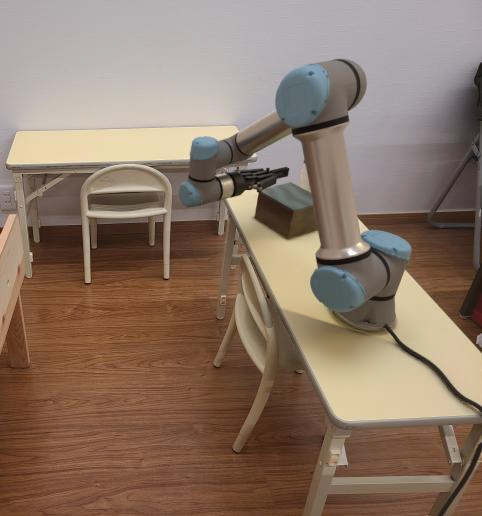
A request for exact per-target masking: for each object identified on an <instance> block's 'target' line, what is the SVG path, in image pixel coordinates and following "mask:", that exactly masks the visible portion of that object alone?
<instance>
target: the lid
mask: <svg viewBox="0 0 482 516" xmlns="http://www.w3.org/2000/svg"><path fill="white" fill-rule="evenodd" d="M299 186H300V185H298V184H296V183H293V182H286V183H282V184H278V185H272V186H270V187H268V188H266V189H264V190H262V191H261V192H260V193H261V194H263V195H264V196H266V197H268V198H270V199H271V200H273V201H275V202H276V203H278V204H280V205H282V206H283V207H285V208H287V209H288V210H290V211H292V212H297V211H300V210H304V209H307V208H310V207H313V202H312V197H311V193H310V192H309V191H307V190H305V189H303V188H301V187H299Z"/></svg>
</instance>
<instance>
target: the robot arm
mask: <svg viewBox="0 0 482 516" xmlns="http://www.w3.org/2000/svg"><path fill="white" fill-rule="evenodd" d="M367 80H368V79H367V76H366V72H365V71H364V69H363V68H362V66H361V65H360V64H358V63H357V62H356V61H354V60H351V59H349V58H335V59H331V60H326V61H320V62H319V61H318V62H314V63H308V64H304V65H302V66H300V67H295V68H294V69H292V70H291V71H289V72H288V73H286V74H285V75H284V77H283V78H282V79H281V81H280V83H279V85H278V87H277V89H276V92H275V96H274V97H275V99H274V105H275V109H273V110H272V111H270V112H269V113H267V114H266V115H264V116H261V118H259V119H257V120H256V121H254V122H253V123H251V124H249V125H247V126H246V127H244V128H242V129H241V130H239V131H238V132H236V133H235V134H233V135H231V136H229V137H227V138H224V139H223V138H222V139H220V140H218V139H217V138H215V137H212V136H207V135H203V136H197V137H195V138H193V140H192V141H191V145H190V151H189V165H188V166H189V167H188V176H187V180H186V181H184V182H181V184H179V187H178V191H177V193H178V198H179V201H180V203H181V204H182V205H183V206H184V207H186V208H195V207H201V206H203V205H207V204H210V203H214V202H215V203H216V202H219V201H222V200H226V199H232V198H236V197H239V196H242V194H244V192H245V191H252V190H256V193H257V194H258V193H260V192H261V191H262V190H264V189H266V188H269V187H273V186H275V185H276V184H277V180H280V179H282V178H286V177H289V172H290V168H289V167H287V166H283V167H279V168H273V169H270V167H265V168H266V169H265V168H263V167H261V168H260V167H259V168H249V169H234V170H233V171H229V172H225V173H224V172H223V173H218V174H216V172H217V170H219V169H223V168H225V167H228V166H230V165H233V164H237V163H240V162H244V161H247V160H248V159H251V158H252V157H253V156H254V154H256V153H258V152H260V151H262V150H264V149H265V148H267V147H269V146H272V145H274V144H275V143H276V142H278V141H281V140H283V139H284V138H286V137H288V136H290V135H292V138H294V139H295V140H298V141H299V142H300V143H301V148H302V149H301V150H302V153H303V160H304V159H305V165H306V170H307V175H308V181H309V186H310V191H311V197H312V202H313V207H314V212H315V218H316V223H317V228H318V230H317V234H318V238H319V245H320V247H319V248H318V249H317V250H316V252H315V254H314V255H315V261H316V262H315V263H316V267H317V268H315V269H314V270H313V272H312V274H311V276H310V278H309V285H310V290H311V292H312V294H313V296H314V297H315V298H316V300H317V301H318V302H319V303H320V304H322V305H323V306H324V307H325V308H327V309H329V310H330V311H331V312H332V314H333V316H334V317H335V318H336V319H337V320H338V321H339V322H341V323H342V324H343V325H345V326H347V327H349V328H351V329H353V330H355V331H356V330H357V331H360V332H363V333H370V334H371V333H372V334H377V333H384V332H386V331H387V333H389V335H390V336H391V337H392V339H393V340H394V341H395V342H396V343H397V345H399V346H400V347H401V348H402V349H403V350H404V351H406V352H408V353H409V354H410V355H412V356H414V357H415V358H417V359H419V360H421V361H422V362H424V364H427V365H428V366H429V367H430V368H432V369H433V370H434V371H435V372H436V374H438V375H439V376H440V378H441V379H442V380H443V383H444V384H445V385H446V386H447V387H448V389H450V391H451V392H452V393H453V394H454V395H455V396H456V397H457V398H459V400H461V401H463V402H464V403H466V404H468V405H470V406H472V407H473V408H475V409H477V410H478V411H479V412H480V413H481V414H482V405H480V404H479V403H478V402H475V401H474V400H473V399H470V398H468V397H466V396H465V395H463V394H462V393H461V392H460V391H459V390H458V389H457V388H456V387H455V386H454V384H453V383H452V382H451V381H450V379H449V378H448V377H447V375H445V373H444V372H443V371H442V370H441V369H440V368H439V367H438V366H437V365H436V364H435V363H434V362H432V361H431V360H430V359H429V358H426V356H424V355H421V354H420V353H419V352H417V351H415V350H414V349H412V348H410V347H409V346H407V345H406V344H405V343H404V342H403V341H402V340H401V339H400V338H399V337H398V336H397V334H396V333H395V332H394V331H393V329H392V327H393V325H394V323H395V320H396V315H397V313H396V295H397V292H398V290H399V287H400V284H401V282H402V279H403V277H404V274H405V272H406V269H407V266H408V263H409V261H410V260H411V258H410V257H411V255H412V252H413V251H412V250H413V249H412V245H411V244H410V243H409V242H408V241H407V240H406V239H405V238H402V237H401V236H399V235H396V234H393V233H390V232H387V231H384V230H377V229H368V230H364V231H362V232H361V229H360V223H359V217H358V211H357V207H356V200H355V194H354V187H353V181H352V176H351V169H350V164H349V157H348V152H347V151H348V150H347V147H346V146H347V145H346V139H345V135H344V132H345V130H346V128H348V126H349V124H350V123H351V122H350V117H349V112H350V111H351V110H353V109H354V108H356V107H357V106H358V105H359V104H360V103H361V101H362V100H363V98H364V96H365V95H366V91H367V87H368V86H367V85H368V81H367ZM481 454H482V441H481V442H479V443H478V444H477V447H476V449H475V452H474V455H473V457H472V459H471V461H470V464H469V466H468V468H467V469H466V471H465V473H464V474H463V476H462V478H461V480H460V481H459V482H458V484H457V486H456V487H455V489H454V490H453V491H452V493H451V494H450V496H449V497H448V499H447V500H446V501H445V503H444V505H442V508H441V509H440V511H439V512H438V514H437V516H444V515H445V514H446V512H448V511H447V510H448V509H449V508H450V506H451V505H452V503H453V502H454V501H455V499H456V498H457V497H458V495H459V494H460V492H461V491H462V489H463V488H464V487H465V485H466V483H467V482H468V480H469V479H470V477H471V476H472V473H473V471H474V470H475V468H476V467H477V464H478V461H479V459H480V457H481Z"/></svg>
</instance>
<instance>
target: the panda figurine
mask: <svg viewBox="0 0 482 516" xmlns="http://www.w3.org/2000/svg"><path fill="white" fill-rule="evenodd" d="M298 186H299V187H301V188H303V189H305V190H307V191H309V192H310V193H311V191H310V186H309V181H308V175H307V170H306V165H305V159H304V158H303V164H302V167H301V170H300V178H299V185H298Z"/></svg>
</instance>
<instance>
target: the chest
mask: <svg viewBox="0 0 482 516" xmlns="http://www.w3.org/2000/svg"><path fill="white" fill-rule="evenodd" d="M253 218H254V219H256V220H257V221H259V222H260V223H262V224H263V225H264V226H267V228H270V229H271V230H273V231H274V232H276V233H277V234H279V235H281V236H282V237H284V238H285V239H286V240H291V239H293V238H296V237H300V236H302V235H307V234H309V233H313V232H316V231H318V228H317V223H316V218H315V212H314V207H310V208H307V209H304V210H300V211H297V212H292V211H290V210H288V209H287V208H285V207H283V206H282V205H280V204H278V203H276V202H275V201H273V200H271V199H270V198H268V197H266V196H264V195H263V194H261V193H258V192H257V199H256V206H255V211H254V217H253Z"/></svg>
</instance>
